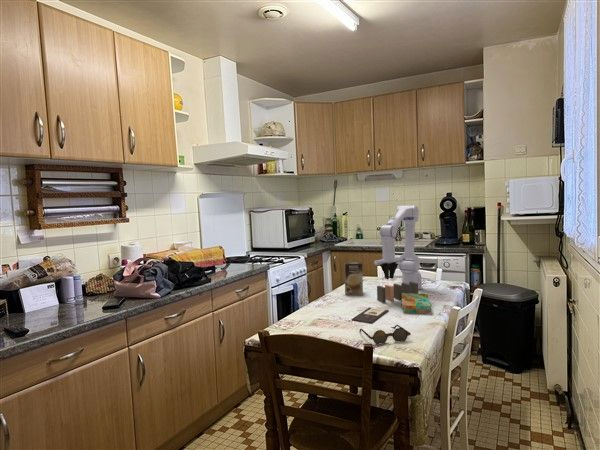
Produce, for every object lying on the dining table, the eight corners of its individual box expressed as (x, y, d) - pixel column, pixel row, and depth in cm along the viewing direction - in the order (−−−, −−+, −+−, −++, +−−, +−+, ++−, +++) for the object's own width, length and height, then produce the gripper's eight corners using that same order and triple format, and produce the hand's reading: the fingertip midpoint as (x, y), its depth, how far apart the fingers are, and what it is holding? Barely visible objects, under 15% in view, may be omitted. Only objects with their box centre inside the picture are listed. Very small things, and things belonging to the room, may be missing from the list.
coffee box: (345, 295, 199) (344, 263, 198) (344, 291, 206) (344, 261, 204) (363, 294, 198) (362, 263, 197) (362, 291, 205) (361, 261, 203)
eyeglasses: (371, 346, 133) (370, 332, 133) (356, 331, 148) (356, 318, 148) (410, 341, 136) (410, 327, 136) (393, 327, 150) (393, 315, 150)
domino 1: (380, 299, 188) (379, 285, 188) (385, 302, 183) (385, 287, 183) (377, 300, 188) (376, 285, 187) (382, 302, 183) (382, 288, 182)
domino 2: (388, 298, 190) (387, 284, 189) (393, 301, 185) (393, 286, 184) (385, 298, 189) (384, 284, 189) (390, 301, 184) (390, 286, 184)
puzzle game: (401, 303, 166) (401, 291, 185) (402, 314, 166) (401, 301, 186) (430, 304, 163) (427, 291, 182) (430, 315, 163) (427, 301, 183)
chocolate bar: (351, 319, 160) (369, 307, 174) (351, 321, 160) (369, 309, 175) (371, 322, 155) (388, 310, 169) (371, 324, 155) (388, 312, 170)
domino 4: (404, 296, 192) (404, 282, 192) (410, 298, 188) (410, 284, 187) (401, 296, 192) (401, 282, 191) (407, 299, 187) (407, 284, 187)
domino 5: (412, 295, 194) (411, 281, 193) (418, 297, 189) (418, 283, 188) (409, 295, 193) (409, 281, 193) (415, 298, 189) (415, 283, 188)
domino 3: (396, 297, 191) (396, 283, 190) (402, 299, 186) (401, 285, 186) (393, 297, 190) (393, 283, 190) (399, 300, 186) (399, 285, 185)
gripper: (379, 252, 179) (380, 281, 180) (406, 250, 183) (407, 278, 185) (371, 250, 186) (372, 278, 187) (398, 248, 190) (398, 275, 191)
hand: (389, 278), depth 186 cm, fingers closed
